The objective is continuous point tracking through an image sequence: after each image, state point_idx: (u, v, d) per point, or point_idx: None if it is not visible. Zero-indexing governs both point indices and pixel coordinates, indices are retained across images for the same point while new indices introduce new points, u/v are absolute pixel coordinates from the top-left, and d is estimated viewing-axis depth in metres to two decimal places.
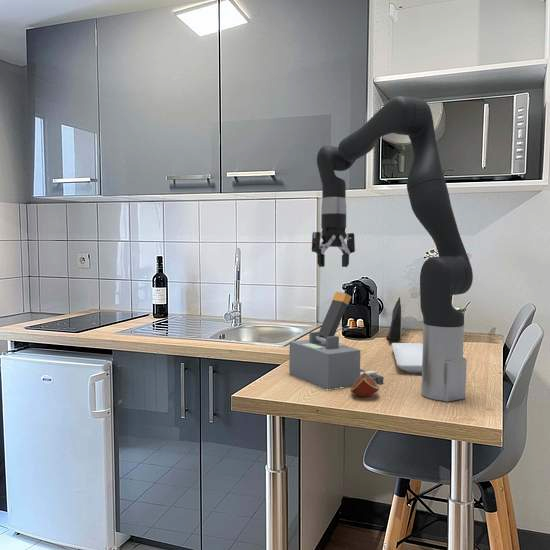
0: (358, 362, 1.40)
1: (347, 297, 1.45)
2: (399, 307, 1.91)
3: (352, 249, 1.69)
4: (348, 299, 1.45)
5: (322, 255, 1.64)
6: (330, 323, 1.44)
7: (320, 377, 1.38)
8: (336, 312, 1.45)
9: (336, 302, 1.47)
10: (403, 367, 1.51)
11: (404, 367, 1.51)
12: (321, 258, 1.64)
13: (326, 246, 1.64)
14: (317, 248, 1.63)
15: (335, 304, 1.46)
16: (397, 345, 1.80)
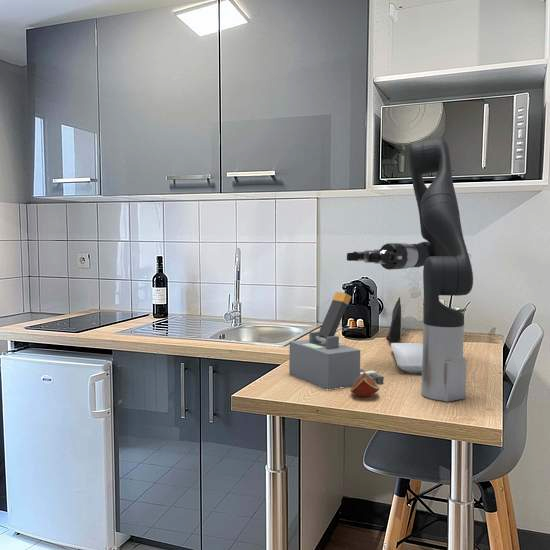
0: (358, 362, 1.40)
1: (347, 297, 1.45)
2: (399, 307, 1.91)
3: None
4: (348, 299, 1.45)
5: None
6: (330, 323, 1.44)
7: (320, 377, 1.38)
8: (336, 312, 1.45)
9: (336, 302, 1.47)
10: (403, 367, 1.51)
11: (404, 367, 1.51)
12: None
13: (364, 251, 1.57)
14: None
15: (335, 304, 1.46)
16: (396, 345, 1.80)
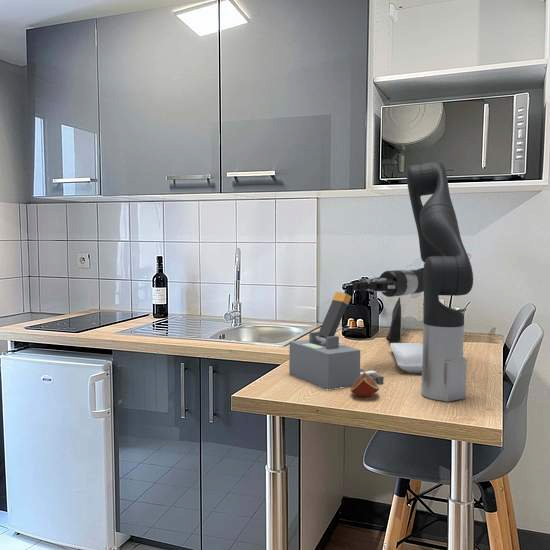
0: (358, 362, 1.40)
1: (347, 297, 1.45)
2: (399, 307, 1.91)
3: (375, 282, 1.52)
4: (348, 299, 1.45)
5: None
6: (330, 323, 1.44)
7: (320, 377, 1.38)
8: (336, 312, 1.45)
9: (336, 302, 1.47)
10: (404, 367, 1.51)
11: (405, 367, 1.51)
12: None
13: (368, 279, 1.55)
14: (362, 280, 1.56)
15: (335, 304, 1.46)
16: (395, 345, 1.80)
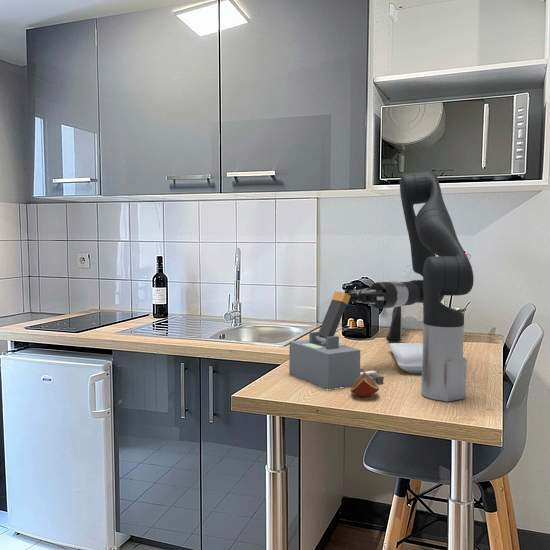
0: (358, 362, 1.40)
1: (346, 297, 1.45)
2: (399, 307, 1.91)
3: None
4: (347, 298, 1.45)
5: None
6: (330, 323, 1.44)
7: (320, 377, 1.38)
8: (335, 312, 1.45)
9: (335, 302, 1.47)
10: (404, 367, 1.51)
11: (405, 367, 1.51)
12: None
13: (358, 290, 1.53)
14: (351, 291, 1.54)
15: (335, 304, 1.46)
16: (395, 345, 1.80)
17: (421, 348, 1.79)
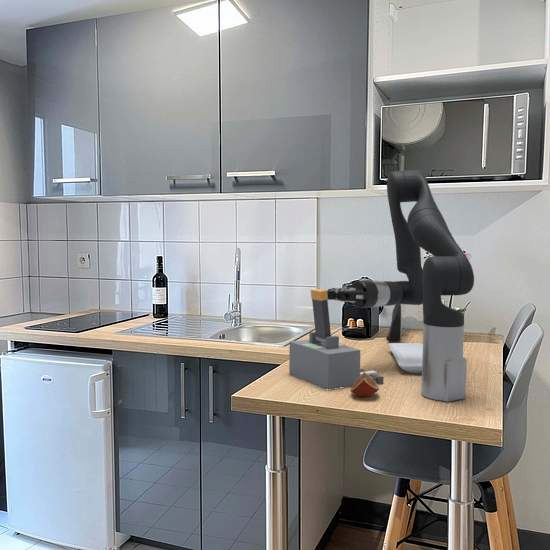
0: (358, 362, 1.40)
1: (323, 294, 1.41)
2: (399, 307, 1.91)
3: (343, 291, 1.45)
4: (325, 294, 1.42)
5: None
6: (321, 324, 1.43)
7: (320, 377, 1.38)
8: (321, 312, 1.42)
9: (316, 301, 1.43)
10: (405, 367, 1.51)
11: (406, 367, 1.51)
12: None
13: (337, 288, 1.49)
14: (330, 289, 1.50)
15: (317, 304, 1.43)
16: (394, 345, 1.80)
17: (420, 348, 1.79)
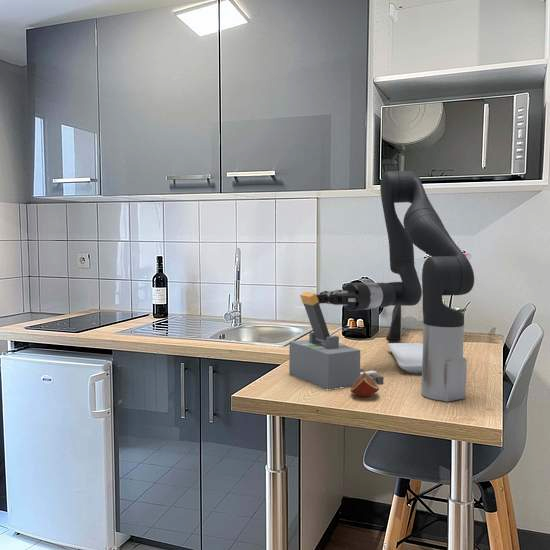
0: (358, 362, 1.40)
1: (313, 298, 1.40)
2: (399, 307, 1.91)
3: None
4: (315, 298, 1.40)
5: None
6: (318, 327, 1.43)
7: (320, 377, 1.38)
8: (315, 315, 1.41)
9: (308, 305, 1.42)
10: (405, 367, 1.51)
11: (406, 367, 1.51)
12: None
13: (329, 291, 1.47)
14: (322, 292, 1.48)
15: (309, 308, 1.42)
16: (393, 345, 1.80)
17: (420, 348, 1.79)
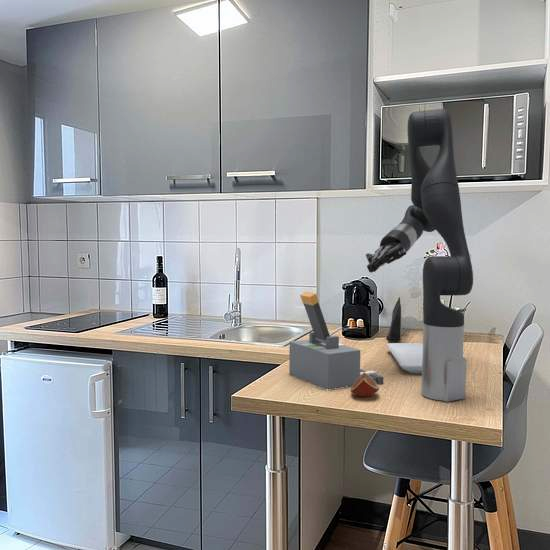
0: (358, 362, 1.40)
1: (313, 298, 1.40)
2: (399, 307, 1.91)
3: (385, 254, 1.47)
4: (315, 298, 1.40)
5: None
6: (318, 327, 1.43)
7: (320, 377, 1.38)
8: (315, 316, 1.41)
9: (308, 305, 1.42)
10: (406, 368, 1.51)
11: (407, 368, 1.51)
12: None
13: (375, 254, 1.50)
14: (370, 257, 1.51)
15: (309, 308, 1.42)
16: (392, 345, 1.80)
17: (418, 348, 1.79)
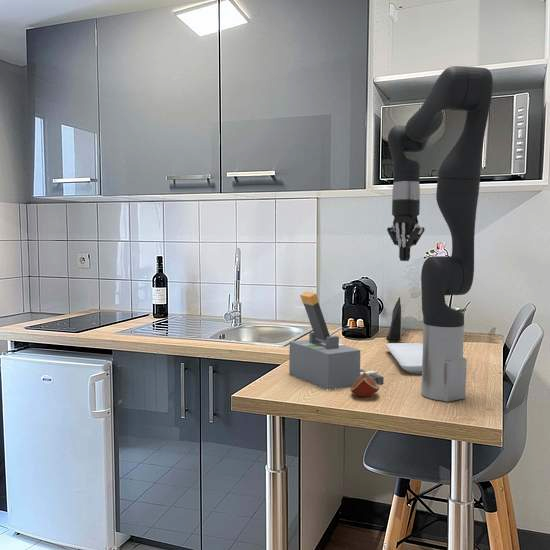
0: (358, 362, 1.40)
1: (313, 298, 1.40)
2: (399, 307, 1.91)
3: (407, 241, 1.52)
4: (315, 298, 1.40)
5: (400, 248, 1.55)
6: (318, 327, 1.43)
7: (320, 377, 1.38)
8: (315, 316, 1.41)
9: (308, 305, 1.42)
10: (407, 368, 1.50)
11: (408, 368, 1.50)
12: (400, 251, 1.55)
13: (398, 238, 1.55)
14: (395, 241, 1.56)
15: (309, 308, 1.42)
16: (391, 345, 1.80)
17: (417, 348, 1.79)
